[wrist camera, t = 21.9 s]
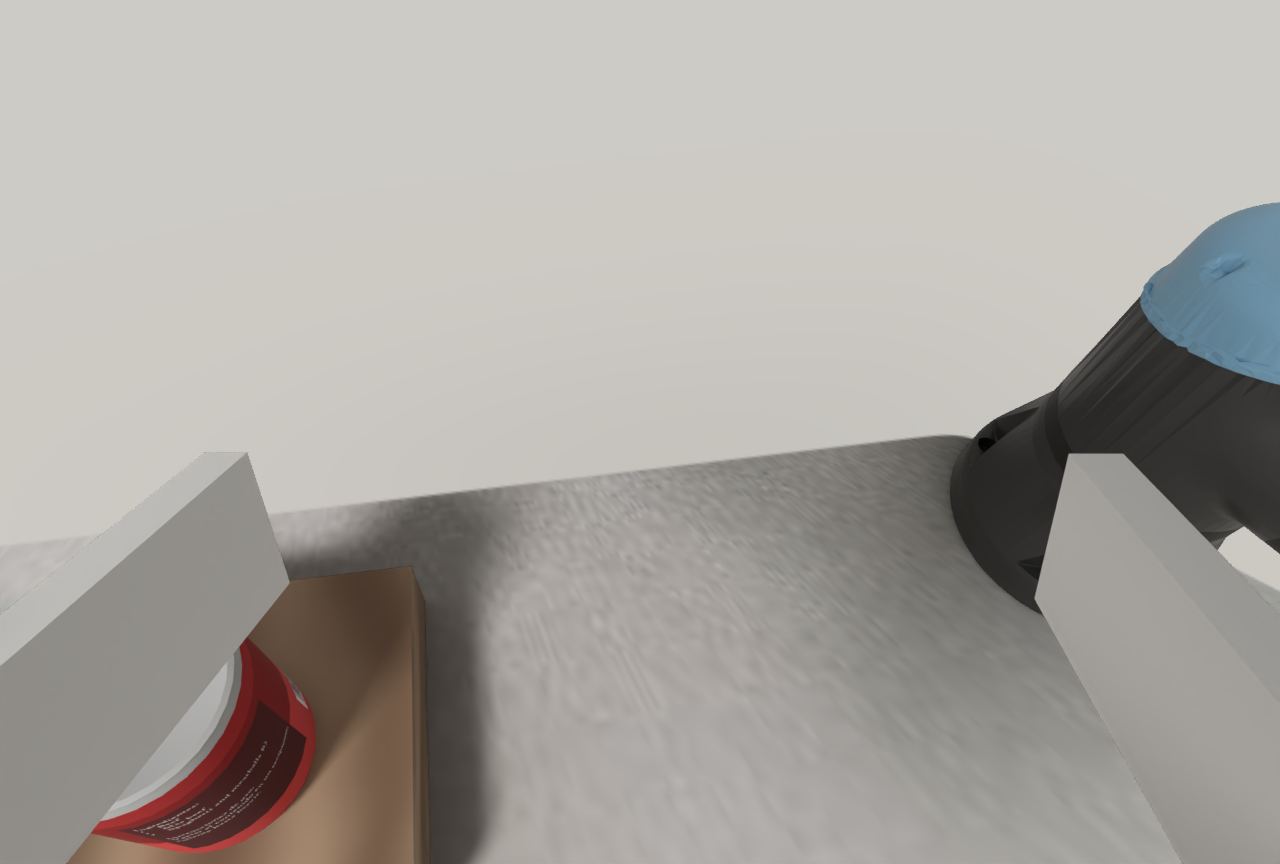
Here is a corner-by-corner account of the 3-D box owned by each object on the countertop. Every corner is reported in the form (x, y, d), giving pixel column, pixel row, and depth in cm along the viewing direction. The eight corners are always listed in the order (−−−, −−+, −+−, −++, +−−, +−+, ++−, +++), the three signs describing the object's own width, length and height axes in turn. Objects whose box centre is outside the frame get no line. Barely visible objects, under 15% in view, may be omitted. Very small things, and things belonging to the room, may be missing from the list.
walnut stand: (424, 601, 43) (411, 565, 39) (431, 933, 35) (414, 933, 30) (116, 640, 40) (66, 606, 36) (41, 1011, 32) (-37, 1022, 28)
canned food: (165, 665, 35) (27, 570, 26) (340, 672, 36) (266, 582, 27) (96, 853, 31) (-97, 818, 22) (296, 858, 31) (190, 826, 22)
